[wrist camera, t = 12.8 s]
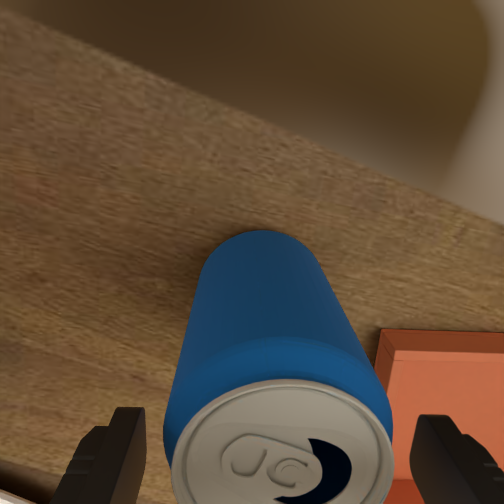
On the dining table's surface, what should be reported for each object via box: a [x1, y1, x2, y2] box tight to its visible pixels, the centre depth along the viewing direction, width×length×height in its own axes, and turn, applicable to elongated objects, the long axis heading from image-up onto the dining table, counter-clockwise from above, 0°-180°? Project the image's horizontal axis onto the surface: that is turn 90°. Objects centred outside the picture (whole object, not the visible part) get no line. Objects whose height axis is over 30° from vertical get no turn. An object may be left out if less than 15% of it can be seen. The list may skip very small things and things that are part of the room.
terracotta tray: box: [374, 329, 504, 504], centre depth 24 cm, size 11×11×2 cm
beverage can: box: [163, 230, 395, 504], centre depth 16 cm, size 6×6×12 cm
